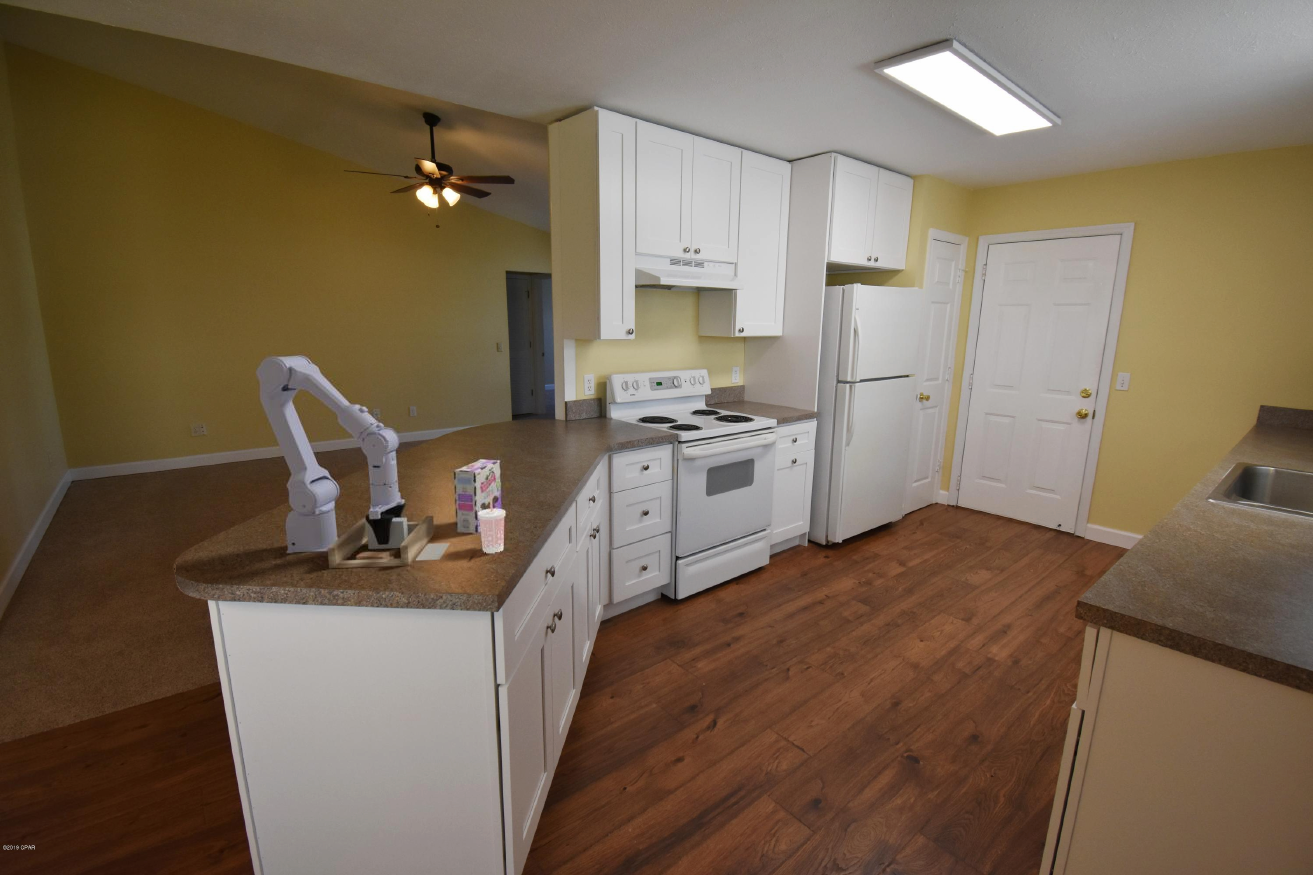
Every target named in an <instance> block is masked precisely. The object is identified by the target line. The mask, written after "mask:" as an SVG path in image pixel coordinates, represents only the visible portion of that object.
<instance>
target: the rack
mask: <svg viewBox="0 0 1313 875" xmlns="http://www.w3.org/2000/svg"><path fill="white" fill-rule="evenodd" d="M366 522H367V521H366V519H365V517H364V518H362V519H361V520H359V521H358V522H357V523H356V524H355V525H353V526H352V527H351V528H350V529H348V530H347V531H346V532H345V533H344V534H342V535H341V536H340V537H339V539H338V540H336V541H335V542H334V543H333V544H331V545H330V546H329V547H328V548H327V549H328V551H327V557H328V566H329V567H328V568H329V569H342V568H344V569H345V568H370V567H371V568H374V567H399V566H401V567H402V566H404V567H405V566H410V565H411V564H412V562H413V561H415V559H416V558H417V557H418V556H419V554H420V553H421V552H422V550H423V549H424V548H425V547H426V546H425V545H427V544H428V542H429V541H430V539H431V538H432V536H433V535H434V534H435V524H434V516H433V515H426V516H425V517H424V519H422V521H407V529H408V537H407V538H406V540H405V541H404V542H403V543H402V544H401V545H400V548H399V549H400V558H393V559H372V560H356V559H350V560H349V559H348V558H350V557H351V555H353V554H354V553H355V552H356V551H357V550H358V549H359V548H360V547H361V546H363V544H364V543H366V542H368V535H367V523H366Z"/></svg>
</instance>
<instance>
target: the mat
mask: <svg viewBox="0 0 1313 875" xmlns="http://www.w3.org/2000/svg"><path fill="white" fill-rule="evenodd" d="M450 544H451V542H444V543H443V542H442V543H441V542H438V543H426V544H425V545H426V546H424V547H423V548H422V550H421V551H420V552H419V553H418V555H417V556H416V557H415V559H414V561H415V562H417V561H418V562H420V561H439V560H440V559H441V558H442V556H443V555H444V553H445V551H446V550H447V548H448V547H449V545H450Z"/></svg>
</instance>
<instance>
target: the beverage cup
mask: <svg viewBox="0 0 1313 875" xmlns="http://www.w3.org/2000/svg"><path fill="white" fill-rule="evenodd" d="M505 517H506V510H505V509H503V508H502V509H496V508H495V509H493V507H492V491H490V509H485V510H482V511H480V512H478V518H479V521H480V529H481V532H480V536H481V544H482V552H483V551H484V552H483V553H485V552H486V554H496V553H495V552H498V553H500V551H501V552H502V551H504V542H505V541H504V539H505V536H504V535H505Z"/></svg>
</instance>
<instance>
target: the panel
mask: <svg viewBox="0 0 1313 875" xmlns="http://www.w3.org/2000/svg"><path fill="white" fill-rule="evenodd" d="M407 522H408V517H401V518H393V520H392V523H391V527H390V540H389V544H388V545H378V543H377V540H376V537H375V535H374V532H373V530H372V528H371V526H370V525H369V524H368V523H367V522H366V523H367V535H368V540H367V546H368V550H379V549H400V545H401V544H402V543H403V542H404V541H405V540H406V538H407V537H408V529H407Z"/></svg>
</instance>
